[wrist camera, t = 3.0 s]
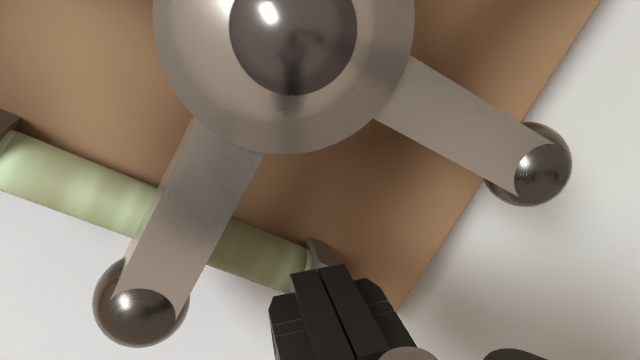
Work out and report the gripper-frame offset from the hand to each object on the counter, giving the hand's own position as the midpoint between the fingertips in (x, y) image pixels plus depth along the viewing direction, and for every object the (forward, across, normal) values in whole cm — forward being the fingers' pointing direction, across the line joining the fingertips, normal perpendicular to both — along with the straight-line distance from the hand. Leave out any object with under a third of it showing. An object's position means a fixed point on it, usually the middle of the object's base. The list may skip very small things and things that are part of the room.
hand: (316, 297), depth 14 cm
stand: (+7, -1, -6) cm, 10 cm away
